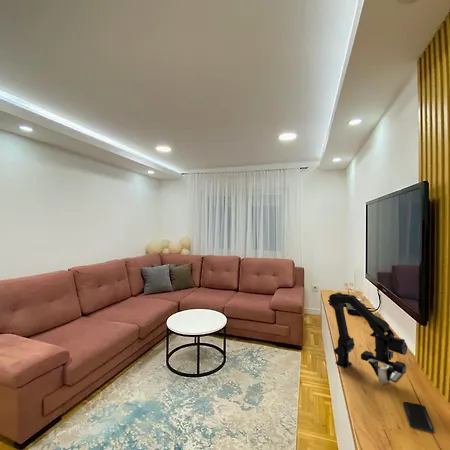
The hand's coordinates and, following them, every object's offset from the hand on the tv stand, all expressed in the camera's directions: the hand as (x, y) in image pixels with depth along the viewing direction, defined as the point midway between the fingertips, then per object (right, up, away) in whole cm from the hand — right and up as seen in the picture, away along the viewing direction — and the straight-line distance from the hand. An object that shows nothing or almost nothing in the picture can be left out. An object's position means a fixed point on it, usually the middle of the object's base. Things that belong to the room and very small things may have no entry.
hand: (383, 378), depth 128 cm
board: (+8, -1, +7) cm, 11 cm away
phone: (-1, -2, -24) cm, 24 cm away
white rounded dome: (0, -1, 0) cm, 1 cm away
